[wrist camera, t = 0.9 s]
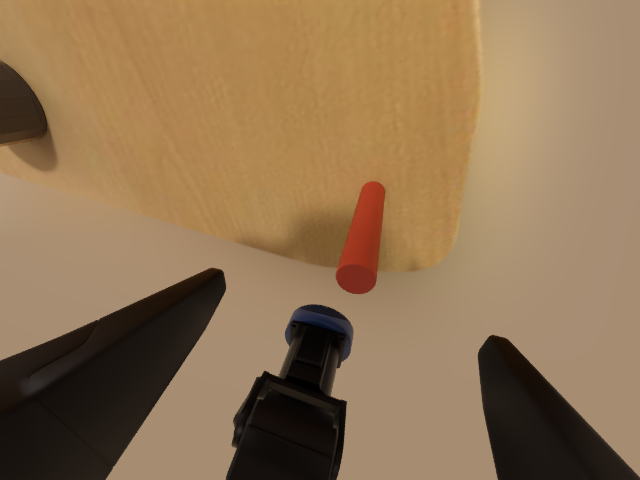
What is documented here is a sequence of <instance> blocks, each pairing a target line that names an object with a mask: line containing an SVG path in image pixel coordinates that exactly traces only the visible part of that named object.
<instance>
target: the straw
mask: <svg viewBox="0 0 640 480" xmlns="http://www.w3.org/2000/svg"><path fill="white" fill-rule="evenodd" d="M384 199H385V189H384V187H383V186H382V185H381V184H380V183H378V182H369V183H366V184H365V185H364V186H363V188H362V190H361V193H360V196H359V200H358V203H357V206H356V210H355V213H354V216H353V219H352V223H351V226H350V229H349V232H348V236H347V239H346V242H345V246H344V249H343V252H342V255H341V259H340V262H339V265H338V269H337V272H336V280H337V282H338V284H339V286H340V287H341V288H343V289H344V290H346V291H347V292H350V293H354V294H363V293H367V292H369V291H370V290H372V289H373V288H374V286H375V284H376V278H377V268H378V258H379V248H380V238H381V229H382V219H383V209H384Z"/></svg>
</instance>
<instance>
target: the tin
mask: <svg viewBox="0 0 640 480" xmlns="http://www.w3.org/2000/svg"><path fill="white" fill-rule="evenodd" d="M45 132H46V119H45V115H44V112H43V110H42V107H41V105H40V103H39V101H38V99H37V98H36V96H35V94H34V93H33V92H32V90H31V89H30V87H29V86H28V85H27V84H26V82H25V81H24V80H23V79H22V78H21V77H20V76H19V75H18V74H17V73H16V72H15V71H14V70H13V69H12V68H10V67H9V66H8V65H6V64H5V63H3V62H2V61H0V147H1V146H7V145H12V144H17V143H23V142H28V141H32V140H35V139H39V138H41V137H43V136H44V134H45Z"/></svg>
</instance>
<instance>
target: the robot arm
mask: <svg viewBox="0 0 640 480" xmlns="http://www.w3.org/2000/svg"><path fill="white" fill-rule="evenodd" d="M225 291H226V283H225V277H224V273H223V271H222V270H220V269H216V268H210V269H207V270H205V271H203V272H201V273H199V274H196V275H194V276H192V277H190V278H188V279H185V280H183V281H181V282H179V283H177V284H175V285H173V286H170V287H168V288H166V289H164V290H162V291H159V292H157V293H155V294H153V295H151V296H149V297H146V298H144V299H142V300H140V301H137V302H135V303H133V304H131V305H129V306H127V307H124V308H122V309H120V310H118V311H116V312H113V313H111V314H109V315H107V316H105V317H103V318H100V319H99V320H96V321H94V322H91V323H89V324H87V325H85V326H83V327H80V328H78V329H76V330H74V331H72V332H69V333H67V334H65V335H62V336H60V337H58V338H55V339H53V340H51V341H48V342H46V343H43V344H41V345H38V346H36V347H33V348H31V349H28V350H26V351H23V352H21V353H18V354H16V355H13V356H11V357H8V358H6V359H3V360H1V361H0V480H106V478H107V477H108V475H109V474H110V472H111V471H112V469H113V467H114V466H115V464H116V463H117V461H118V460H119V458H120V457H121V455H122V454H123V452H124V451H125V449H126V448H127V446H128V445H129V443H130V442H131V440H132V439H133V437H134V436H135V434H136V433H137V431H138V430H139V428H140V427H141V425H142V424H143V422H144V421H145V419H146V417H147V416H148V415H149V413H150V412H151V410H152V409H153V407H154V406H155V404H156V403H157V401H158V400H159V398H160V397H161V395H162V394H163V392H164V391H165V389H166V388H167V386H168V385H169V383H170V382H171V380H172V379H173V377H174V376H175V374H176V373H177V371H178V370H179V368H180V367H181V365H182V364H183V362H184V361H185V359H186V357H187V356H188V355H189V353H190V352H191V350H192V349H193V347H194V346H195V344H196V343H197V341H198V340H199V338H200V337H201V335H202V334H203V332H204V330H205V329H206V327H207V325H208V324H209V322H210V320H211V318H212V316H213V314H214V312H215V310H216V308H217V306H218V304H219V303H220V300H221V299H222V297H223V295H224V293H225ZM346 338H347V335H346V334H344V333H342V332H338V331H334V330H330V329H326V328H323V327H319V326H315V325H311V324H308V323H304V322H300V321H296V320H292V321H291V324H290V348H289V350H288V353H287V356H286V358H285V361H284V363H283V366H282V369H281V371H280V374H279V376H278V377H277V376H275V375H272V374H269V372H267V371H264V373H263V374H262V376H261V377H257V378H256V380H255V382H254V385H253V387H252V389H251V391H250V393H249V394H248V396H247V398H246V399H245V401H244V402H243V404H242V406H241V407H240V409H239V410H238V412H237V414H236V415H235V417H234V420H233V423H234V427H235V430H234V437H233V441H232V447H235V448H237V450H236V452H235V455H234V457H233V460H232V462H231V465H230V468H229V470H228V473H227V476H226V480H336V479H337V476H338V472H339V469H340V464H341V459H342V453H343V445H344V431H345V419H346V405H347V402H346V401H344V400H339V399H336V398H333V397H331V392H332V387H333V382H334V378H335V373H336V368H340V365H341V361H342V356H343V352H344V347H345V343H346ZM478 363H479V374H480V384H481V394H482V403H483V410H484V415H485V420H486V425H487V430H488V435H489V439H490V444H491V449H492V454H493V459H494V463H495V468H496V473H497V478H498V480H640V477H639V476H638V475H637V474H636V473H635V472H634V471H633V470H632V469H631V468H630V467H629V466H628V465H627V464H626V463H625V462H624V460H623V459H621V457H620V456H619V455H618V454H617V453H616V452H615V451H614V450H613V449H612V448H611V447H610V446H609V445H608V444H607V443H606V442H605V441H604V439H603V438H602V437H601V436H600V435H599V434H598V433H597V432H596V431H595V430H594V429H593V428H592V427H591V426H590V425H589V424H588V423H587V422H586V421H585V420H584V419H583V417H582V416H581V415H580V414H579V413H578V412H577V411H576V410H575V409H574V408H573V407H572V406H571V405H570V404H569V403H568V402H567V401H566V400H565V399H564V398H563V397H562V395H561V394H560V393H559V392H558V391H557V390H556V389H555V388H554V387H553V386H552V385H551V384H550V383H549V382H548V381H547V380H546V379H545V378H544V377H543V376H542V375H541V373H539V371H538V370H537V369H536V368H535V367H534V366H533V365H532V364H531V363H530V362H529V361H528V360H527V359H526V358H525V357H524V356H523V355H522V354H521V353H520V352H519V350H518V349H517V348H516V347H515V346H514V345H513V344H512V343H511V342H510V341H509V340H508V339H506V338H503V337H499V336H495V335H491V336H489V337H488V339H487V340H486V341H485V343H484V344H483V346H482V347H481V348H480V350H479V352H478Z"/></svg>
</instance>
